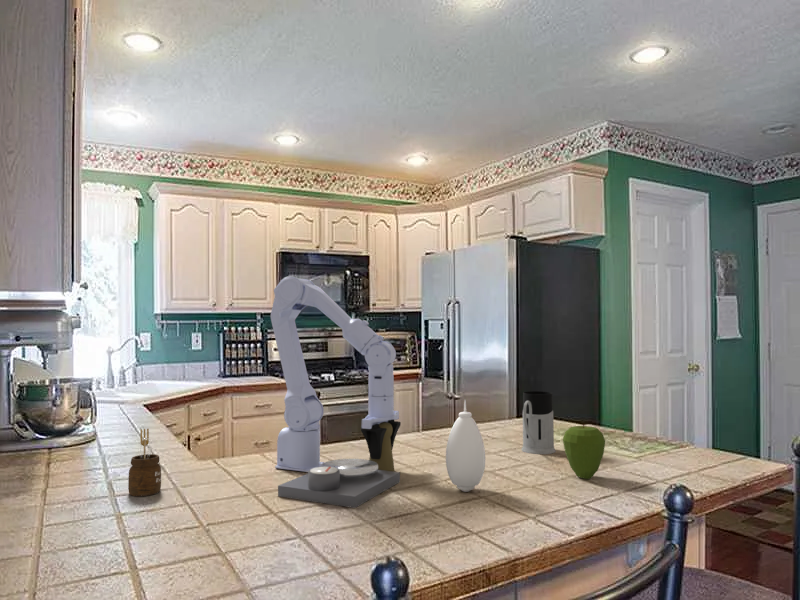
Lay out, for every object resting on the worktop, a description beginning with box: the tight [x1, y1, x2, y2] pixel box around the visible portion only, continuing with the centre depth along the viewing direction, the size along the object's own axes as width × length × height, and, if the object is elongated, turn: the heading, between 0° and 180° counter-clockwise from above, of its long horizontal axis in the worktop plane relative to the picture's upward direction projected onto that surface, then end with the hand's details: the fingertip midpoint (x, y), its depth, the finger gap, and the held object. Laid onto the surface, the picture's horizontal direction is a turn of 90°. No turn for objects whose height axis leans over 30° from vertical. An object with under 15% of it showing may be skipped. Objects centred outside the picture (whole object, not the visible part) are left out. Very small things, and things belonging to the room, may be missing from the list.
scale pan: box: [320, 458, 378, 478], centre depth 120 cm, size 12×12×1 cm
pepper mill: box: [368, 422, 396, 472], centre depth 131 cm, size 6×6×11 cm
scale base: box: [277, 467, 401, 509], centre depth 117 cm, size 17×19×5 cm
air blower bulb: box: [445, 399, 486, 493], centre depth 116 cm, size 8×8×18 cm
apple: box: [562, 424, 606, 480], centre depth 125 cm, size 9×8×12 cm
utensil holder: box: [127, 428, 162, 497], centre depth 115 cm, size 6×6×12 cm
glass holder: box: [520, 390, 556, 455], centre depth 150 cm, size 9×14×15 cm, turn 148°
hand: (381, 456), depth 131 cm, fingers closed on pepper mill, 5 cm apart
